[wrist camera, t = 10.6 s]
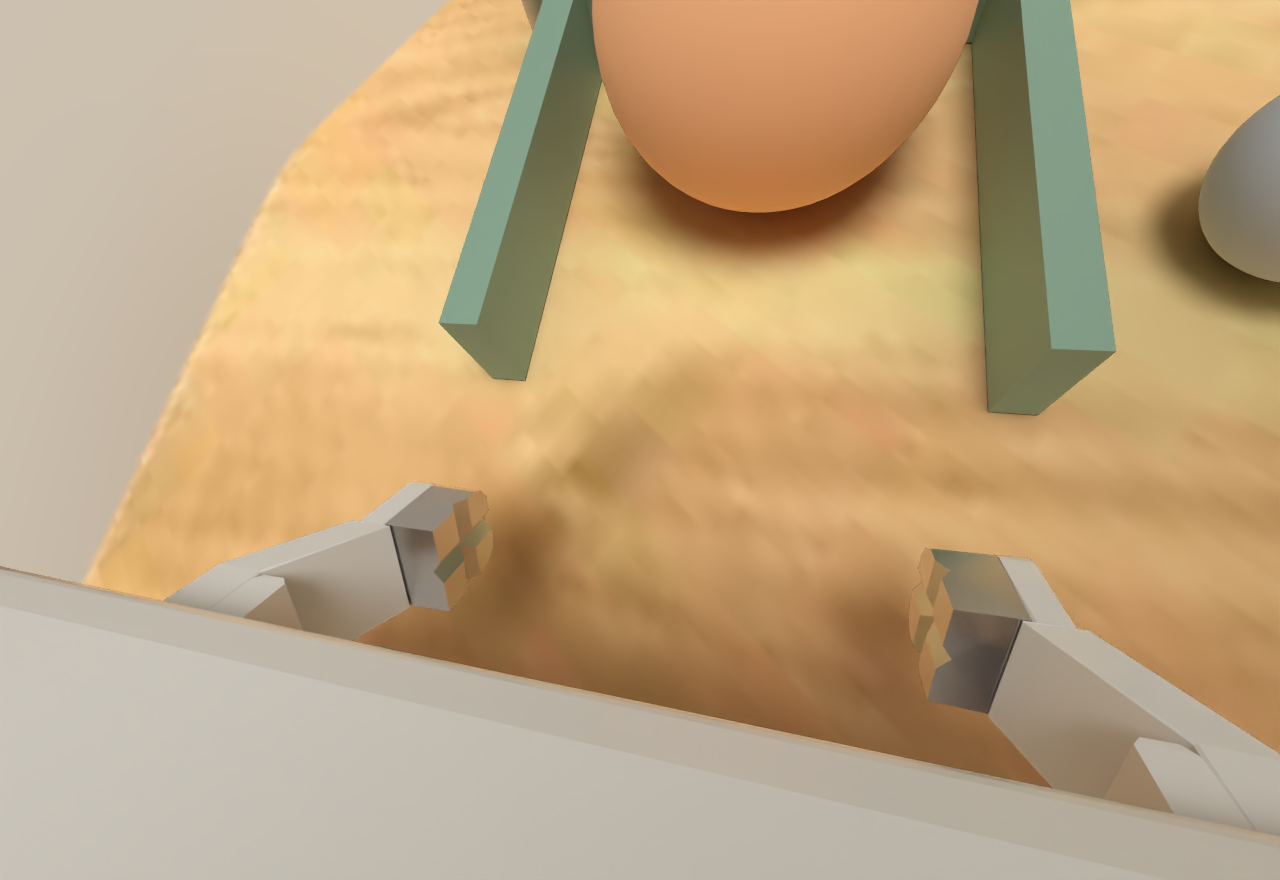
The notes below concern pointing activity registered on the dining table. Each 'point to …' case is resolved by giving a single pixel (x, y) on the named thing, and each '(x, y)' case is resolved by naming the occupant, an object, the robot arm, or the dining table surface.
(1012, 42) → the green u-shaped frame
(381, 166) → the dining table surface
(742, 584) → the dining table surface
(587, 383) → the dining table surface
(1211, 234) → the grey ball
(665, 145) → the ball
